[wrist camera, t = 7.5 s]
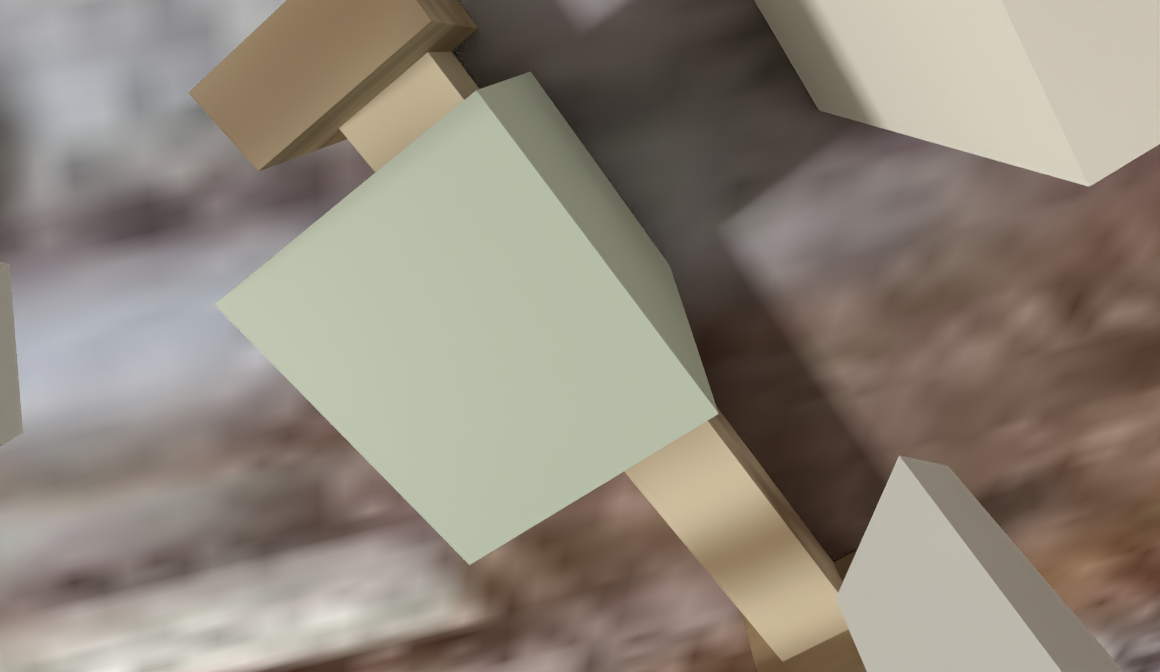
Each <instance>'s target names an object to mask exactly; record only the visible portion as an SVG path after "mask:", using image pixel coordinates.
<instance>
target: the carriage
mask: <svg viewBox="0 0 1160 672" xmlns="http://www.w3.org/2000/svg"><path fill="white" fill-rule="evenodd" d="M215 306H216V307H217V308H218V309H219V310H220V311H221V312H222V313H223V314H224V315H225V316H226V317H227V318H228V319H229V320H230V321H231V322H232V323H233V324H234V325H235V326H236V327H237V328H238V329H239V330H240V331H241V332H242V333H243V334H244V335H245V336H246V337H247V338H248V339H249V340H250V341H251V342H252V343H253V344H254V346H255V347H256V348H257V349H258V350H259V351H260V352H261V353H262V354H263V355H264V356H265V357H266V358H267V359H268V360H269V361H270V362H271V363H272V364H273V365H274V366H275V367H276V368H277V369H278V370H279V371H280V372H281V373H282V374H283V375H284V376H285V377H286V378H287V379H288V380H289V381H290V382H291V383H292V384H293V385H294V386H295V387H296V388H297V389H298V390H299V391H300V392H301V393H302V394H303V396H304V397H305V398H306V399H307V400H308V401H309V402H310V403H311V404H312V405H313V406H314V407H315V408H316V409H317V410H318V411H319V412H320V413H321V414H322V415H323V416H324V417H325V418H326V419H327V420H328V421H329V422H330V423H331V424H332V425H333V426H334V427H335V428H336V429H337V430H338V431H339V432H340V433H341V434H342V435H343V436H344V437H345V438H346V439H347V440H348V441H349V442H350V443H351V444H352V446H353V447H354V448H355V449H356V450H357V451H358V452H359V453H360V454H361V455H362V456H363V457H364V458H365V459H366V460H367V461H368V462H369V463H370V464H371V465H372V466H373V467H374V468H375V469H376V470H377V471H378V472H379V473H380V474H381V475H382V476H383V477H384V478H385V479H386V480H387V481H388V482H389V483H390V484H391V485H392V486H393V487H394V488H395V489H396V490H397V491H398V492H399V493H400V494H401V496H402V497H403V498H404V499H405V500H406V501H407V502H408V503H409V504H410V505H411V506H412V507H413V508H414V509H415V510H416V511H417V512H418V513H419V514H420V515H421V516H422V517H423V518H424V519H425V520H426V521H427V522H428V523H429V524H430V525H431V526H432V527H433V528H434V529H435V530H436V531H437V532H438V533H439V534H440V535H441V536H442V537H443V538H444V539H445V540H446V541H447V542H448V543H449V544H450V546H451V547H452V548H453V549H454V550H455V551H456V552H457V553H458V554H459V555H460V556H461V557H462V558H463V559H464V560H465V561H466V562H467V563H468V564H469V565H470V564H472V563H473V562H475V561H477V560H478V559H480V558H482V557H483V556H485V555H487V554H488V553H490V552H492V551H493V550H495V549H496V548H498V547H500V546H501V545H503V544H505V543H506V542H508V541H510V540H511V539H513V538H515V537H516V536H518V535H520V534H521V533H523V532H525V531H526V530H528V529H529V528H531V527H533V526H534V525H536V524H538V523H539V522H541V521H543V520H544V519H546V518H548V517H549V516H551V515H553V514H554V513H556V512H558V511H559V510H561V509H562V508H564V507H566V506H567V505H569V504H571V503H572V502H574V501H576V500H577V499H579V498H581V497H582V496H584V495H586V494H587V493H589V492H590V491H592V490H594V489H595V488H597V487H599V486H600V485H602V484H604V483H605V482H607V481H609V480H610V479H612V478H614V477H615V476H617V475H619V474H620V473H622V472H623V471H625V470H627V469H628V468H630V467H632V466H633V465H635V464H637V463H638V462H640V461H642V460H643V459H645V458H647V457H648V456H650V455H651V454H653V453H655V452H656V451H658V450H660V449H661V448H663V447H665V446H666V445H668V444H670V443H671V442H673V441H675V440H676V439H678V438H680V437H681V436H683V435H684V434H686V433H688V432H689V431H691V430H693V429H694V428H696V427H698V426H699V425H701V424H703V423H704V422H706V421H708V420H709V419H711V418H713V417H714V416H716V415H717V414H719V413H718V410H717V407H716V404H715V401H714V398H713V395H712V392H711V389H710V386H709V383H708V380H707V377H706V374H705V371H704V368H703V365H702V362H701V359H700V355H699V352H698V349H697V346H696V343H695V340H694V337H693V334H692V331H691V328H690V325H689V322H688V319H687V316H686V313H685V310H684V307H683V304H682V301H681V298H680V295H679V292H678V289H677V286H676V283H675V280H674V277H673V274H672V271H671V268H670V265H669V264H668V263H667V261H666V260H665V258H664V257H663V256H662V254H661V253H660V251H659V250H658V249H657V247H656V246H655V244H654V243H653V242H652V240H651V239H650V237H649V236H648V235H647V233H646V232H645V230H644V229H643V228H642V226H641V225H640V223H639V222H638V221H637V219H636V218H635V216H634V215H633V214H632V212H631V211H630V209H629V208H628V207H627V205H626V204H625V203H624V201H623V200H622V198H621V197H620V196H619V194H618V193H617V191H616V190H615V189H614V187H613V186H612V184H611V183H610V182H609V180H608V179H607V177H606V176H605V175H604V173H603V172H602V170H601V169H600V168H599V166H598V165H597V163H596V162H595V161H594V159H593V158H592V156H591V155H590V154H589V152H588V151H587V149H586V148H585V147H584V145H583V144H582V142H581V141H580V140H579V138H578V137H577V136H576V134H575V133H574V131H573V130H572V129H571V127H570V126H569V124H568V123H567V122H566V120H565V119H564V117H563V116H562V115H561V113H560V112H559V110H558V109H557V108H556V106H555V105H554V103H553V102H552V101H551V99H550V98H549V96H548V95H547V94H546V92H545V91H544V89H543V88H542V87H541V85H540V84H539V82H538V81H537V80H536V78H535V77H534V75H533V74H532V73H531V72H528V73H525V74H522V75H519V76H516V77H513V78H510V79H507V80H505V81H502V82H499V83H496V84H493V85H490V86H487V87H484V88H481V89H478V90H476V91H475V92H474V93H472V94H471V95H470V96H469V97H467V98H466V99H465V100H464V101H463V102H461V103H460V104H459V105H458V106H456V107H455V108H454V109H453V110H452V111H450V112H449V113H448V114H447V115H445V116H444V117H443V118H442V119H441V120H439V121H438V122H437V123H436V124H434V125H433V126H432V127H431V128H430V129H428V130H427V131H426V132H425V133H423V134H422V135H421V136H420V137H419V138H417V139H416V140H415V141H414V142H413V143H411V144H410V145H409V146H408V147H406V148H405V149H404V150H403V151H402V152H400V153H399V154H398V155H397V156H395V157H394V158H393V159H392V160H391V161H389V162H388V163H387V164H386V165H384V166H383V167H382V168H381V169H380V170H378V171H377V172H376V173H375V174H373V175H372V176H371V177H370V178H369V179H367V180H366V181H365V182H364V183H362V184H361V185H360V186H359V187H358V188H356V189H355V190H354V191H353V192H351V193H350V194H349V195H348V196H347V197H345V198H344V199H343V200H342V201H340V202H339V203H338V204H337V205H336V206H334V207H333V208H332V209H331V210H329V211H328V212H327V213H326V214H325V215H323V216H322V217H321V218H320V219H318V220H317V221H316V222H315V223H314V224H312V225H311V226H310V227H309V228H307V229H306V230H305V231H304V232H303V233H301V234H300V235H299V236H298V237H296V238H295V239H294V240H293V241H292V242H290V243H289V244H288V245H287V246H285V247H284V248H283V249H282V250H281V251H279V252H278V253H277V254H276V255H274V256H273V257H272V258H271V259H270V260H268V261H267V262H266V263H265V264H264V265H262V266H261V267H260V268H259V269H257V270H256V271H255V272H254V273H253V274H251V275H250V276H249V277H248V278H246V279H245V280H244V281H243V282H242V283H240V284H239V285H238V286H237V287H235V288H234V289H233V290H232V291H231V292H229V293H228V294H227V295H226V296H224V297H223V298H222V299H221V300H220V301H218V302H217V303H216V304H215Z"/></svg>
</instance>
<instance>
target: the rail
mask: <svg viewBox="0 0 1160 672" xmlns="http://www.w3.org/2000/svg"><path fill="white" fill-rule="evenodd" d="M478 29H479V28H478V27H477V25H476V24H475V23H474V21H473V20H472V19H471V17H470V16H469V14H468V13H467V12H466V10H465V9H464V8H463V6H462V5H461V3H460V2H459V1H458V0H287V1H286V2H285V3H284V4H282V5H281V6H280V7H279V8H278V9H277V10H276V11H275V12H274V13H273V14H272V15H271V16H270V17H269V18H268V19H267V20H265V21H264V22H263V23H262V24H261V25H260V26H259V27H258V28H257V29H256V30H255V31H254V32H253V33H252V34H251V35H250V36H248V37H247V38H246V39H245V40H244V41H243V42H242V43H241V44H240V45H239V46H238V47H237V48H236V49H235V50H234V51H232V52H231V53H230V54H229V55H228V56H227V57H226V58H225V59H224V60H223V61H222V62H221V63H220V64H219V65H218V66H217V67H215V68H214V69H213V70H212V71H211V72H210V73H209V74H208V75H207V76H206V77H205V78H204V79H203V80H202V81H201V82H199V83H198V84H197V85H196V86H195V87H194V88H193V89H192V90H191V91H190V92H189V94H190V95H191V96H192V97H193V99H194V100H195V101H196V102H197V103H198V104H199V105H200V106H201V107H202V109H203V110H204V111H205V112H206V113H207V114H208V115H209V116H210V118H211V119H212V120H213V121H214V122H215V123H216V124H217V125H218V127H219V128H220V129H221V130H222V131H223V132H224V133H225V134H226V136H227V137H228V138H229V139H230V140H231V141H232V142H233V143H234V145H235V146H236V147H237V148H238V149H239V150H240V151H241V152H242V153H243V155H244V156H245V157H246V158H247V159H248V160H249V161H250V162H251V164H252V165H253V166H254V167H255V168H256V169H257V170H258V171H260V170H263V169H266V168H269V167H271V166H274V165H277V164H280V163H282V162H285V161H288V160H291V159H293V158H296V157H299V156H302V155H304V154H307V153H310V152H313V151H316V150H318V149H321V148H324V147H327V146H329V145H332V144H335V143H338V142H340V141H343V140H346V139H348V140H349V141H350V142H351V144H352V145H353V146H354V147H355V148H356V150H357V151H358V152H359V153H360V154H361V156H362V157H363V158H364V159H365V160H366V162H367V163H368V164H369V165H370V166H371V168H372V169H373V170H374V171H375V172H377V171H378V170H380V169H381V168H382V167H383V166H384V165H386V164H387V163H388V162H389V161H391V160H392V159H393V158H394V157H395V156H397V155H398V154H399V153H400V152H402V151H403V150H404V149H405V148H406V147H408V146H409V145H410V144H411V143H413V142H414V141H415V140H416V139H417V138H419V137H420V136H421V135H422V134H423V133H425V132H426V131H427V130H428V129H430V128H431V127H432V126H433V125H434V124H436V123H437V122H438V121H439V120H441V119H442V118H443V117H444V116H445V115H447V114H448V113H449V112H450V111H452V110H453V109H454V108H455V107H456V106H458V105H459V104H460V103H461V102H463V101H464V100H465V99H466V98H467V97H469V96H470V95H471V94H472V93H474V92H475V91H476V90H478V89H479V88H478V86H477V85H476V84H475V82H474V81H473V80H472V78H471V77H470V76H469V74H468V73H467V72H466V70H465V69H464V68H463V66H462V65H461V64H460V62H459V61H458V60H457V58H456V57H455V56H454V54H453V53H452V51H453V50H454V49H455V48H456V47H458V46H459V45H460V44H461V43H462V42H464V41H465V40H466V39H467V38H468V37H469V36H471V35H472V34H473V33H474V32H475V31H477V30H478ZM716 407H717V406H716ZM717 410H718V413H719V414H717V415H716V416H714V417H713V418H711V419H709V420H708V421H706V422H704V423H703V424H701V425H699V426H698V427H696V428H694V429H693V430H691V431H689V432H688V433H686V434H684V435H683V436H681V437H680V438H678V439H676V440H675V441H673V442H671V443H670V444H668V445H666V446H665V447H663V448H661V449H660V450H658V451H656V452H655V453H653V454H651V455H650V456H648V457H647V458H645V459H643V460H642V461H640V462H638V463H637V464H635V465H633V466H632V467H630V468H628V469H627V470H625V471H624V472H625V473H626V474H627V475H628V476H629V478H630V479H631V480H632V481H633V482H634V484H635V485H636V486H637V487H638V489H639V490H640V491H641V492H642V493H643V495H644V496H645V497H646V498H647V499H648V501H649V502H650V503H651V504H652V505H653V507H654V508H655V509H656V510H657V511H658V513H659V514H660V515H661V516H662V517H663V519H664V520H665V521H666V522H667V523H668V525H669V526H670V527H671V528H672V529H673V531H674V532H675V533H676V534H677V535H678V537H679V538H680V539H681V540H682V541H683V543H684V544H685V545H686V546H687V547H688V549H689V550H690V551H691V552H692V553H693V555H694V556H695V557H696V558H697V559H698V561H699V562H700V563H701V564H702V565H703V567H704V568H705V569H706V570H707V571H708V573H709V574H710V575H711V576H712V577H713V579H714V580H715V581H716V582H717V583H718V585H719V586H720V587H721V588H722V589H723V591H724V592H725V593H726V594H727V595H728V597H729V598H730V599H731V600H732V601H733V603H734V604H735V605H736V606H737V607H738V609H739V610H740V611H741V612H742V615H743V619H744V623H745V627H746V631H747V635H748V639H749V642H750V646H751V650H752V654H753V658H754V662H755V666H756V670H757V672H867V671H866V668H865V666H864V664H863V661H862V659H861V657H860V654H859V652H858V650H857V647H856V645H855V643H854V640H853V638H852V636H851V633H850V631H849V629H848V626H847V624H846V622H845V619H844V617H843V615H842V613H841V610H840V608H839V606H838V603H837V601H836V597H837V594H838V592H839V590H840V588H841V585H842V583H843V581H844V579H845V576H846V574H847V572H848V570H849V567H850V565H851V563H852V561H853V558H854V556H855V554H856V552H857V550H856V551H854V552H852V553H850V554H848V555H846V556H844V557H843V558H841V559H839V560H837V561H835V562H833V561H832V560H831V559H830V557H829V556H828V555H827V553H826V552H825V551H824V549H823V548H822V546H821V545H820V544H819V542H818V541H817V540H816V538H815V537H814V536H813V534H812V533H811V532H810V530H809V529H808V528H807V526H806V525H805V524H804V522H803V521H802V520H801V518H800V517H799V516H798V514H797V513H796V512H795V510H794V509H793V508H792V506H791V505H790V504H789V502H788V501H787V500H786V498H785V497H784V496H783V494H782V493H781V492H780V490H779V489H778V488H777V486H776V485H775V484H774V482H773V481H772V480H771V478H770V477H769V476H768V474H767V473H766V472H765V470H764V469H763V468H762V466H761V465H760V464H759V462H758V461H757V460H756V458H755V457H754V456H753V454H752V453H751V452H750V450H749V449H748V447H747V446H746V445H745V443H744V442H743V441H742V439H741V438H740V437H739V435H738V434H737V433H736V431H735V430H734V429H733V427H732V426H731V425H730V423H729V422H728V421H727V419H726V418H725V417H724V415H723V414H722V413H721V411H720V410H719V409H718V407H717Z"/></svg>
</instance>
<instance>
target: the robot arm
mask: <svg viewBox="0 0 1160 672" xmlns="http://www.w3.org/2000/svg"><path fill="white" fill-rule="evenodd" d="M22 432H23V429H22V417H21V404H20V392H19V379H18V367H17V354H16V342H15V329H14V317H13V304H12V292H11V280H10V267H9V264H7V263H2V262H0V446H2V445H3V444H5V443H6V442H8V441H10V440H11V439H13V438H14V437H16V436H18V435H19V434H21V433H22ZM836 601H837V603H838V606H839V608H840V610H841V613H842V615H843V617H844V619H845V622H846V624H847V626H848V629H849V631H850V633H851V636H852V638H853V640H854V643H855V645H856V647H857V650H858V652H859V654H860V657H861V659H862V661H863V664H864V666H865V668H866V671H867V672H1124V671H1123V670H1122V669H1121V668H1120V667H1119V665H1118V664H1117V663H1116V662H1115V661H1114V660H1113V658H1112V657H1111V656H1110V655H1109V654H1108V653H1107V651H1106V650H1105V649H1104V648H1103V647H1102V646H1101V644H1100V643H1099V642H1098V641H1097V640H1096V639H1095V637H1094V636H1093V635H1092V634H1091V633H1090V632H1089V630H1088V629H1087V628H1086V627H1085V626H1084V624H1083V623H1082V622H1081V621H1080V620H1079V619H1078V617H1077V616H1076V615H1075V614H1074V613H1073V612H1072V610H1071V609H1070V608H1069V607H1068V606H1067V605H1066V603H1065V602H1064V601H1063V600H1062V599H1061V598H1060V596H1059V595H1058V594H1057V593H1056V592H1055V591H1054V589H1053V588H1052V587H1051V586H1050V585H1049V583H1048V582H1047V581H1046V580H1045V579H1044V578H1043V576H1042V575H1041V574H1040V573H1039V572H1038V571H1037V569H1036V568H1035V567H1034V566H1033V565H1032V564H1031V562H1030V561H1029V560H1028V559H1027V558H1026V557H1025V555H1024V554H1023V553H1022V552H1021V551H1020V550H1019V548H1018V547H1017V546H1016V545H1015V544H1014V542H1013V541H1012V540H1011V539H1010V538H1009V537H1008V535H1007V534H1006V533H1005V532H1004V531H1003V530H1002V528H1001V527H1000V526H999V525H998V524H997V523H996V521H995V520H994V519H993V518H992V517H991V516H990V514H989V513H988V512H987V511H986V510H985V509H984V507H983V506H982V505H981V504H980V503H979V502H978V500H977V499H976V498H975V497H974V496H973V494H972V493H971V492H970V491H969V490H968V489H967V487H966V486H965V485H964V484H963V483H962V482H961V480H960V479H959V478H958V477H957V476H956V475H955V473H954V472H953V471H952V470H951V469H950V468H949V466H946V465H941V464H937V463H932V462H927V461H923V460H918V459H913V458H909V457H904V456H899V457H898V459H897V462H896V464H895V466H894V468H893V471H892V473H891V475H890V477H889V480H888V482H887V484H886V486H885V489H884V491H883V493H882V495H881V498H880V500H879V502H878V504H877V507H876V509H875V511H874V513H873V516H872V518H871V520H870V522H869V525H868V527H867V529H866V531H865V534H864V536H863V538H862V540H861V543H860V545H859V547H858V549H857V552H856V554H855V556H854V558H853V561H852V563H851V565H850V567H849V570H848V572H847V574H846V576H845V579H844V581H843V583H842V585H841V588H840V590H839V592H838V594H837V597H836Z"/></svg>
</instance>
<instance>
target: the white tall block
mask: <svg viewBox="0 0 1160 672" xmlns="http://www.w3.org/2000/svg"><path fill="white" fill-rule="evenodd" d="M754 1H755V3H756V4H757V6H758V8H759V9H760V11H761V13H762V15H763V16H764V18H765V20H766V21H767V23H768V25H769V26H770V28H771V30H772V32H773V33H774V35H775V37H776V38H777V40H778V42H779V43H780V45H781V47H782V49H783V50H784V52H785V54H786V55H787V57H788V59H789V60H790V62H791V64H792V66H793V67H794V69H795V71H796V72H797V74H798V76H799V77H800V79H801V81H802V83H803V84H804V86H805V88H806V89H807V91H808V93H809V94H810V96H811V98H812V100H813V101H814V103H815V105H816V106H817V108H818V110H819V111H823V112H826V113H830V114H833V115H837V116H840V117H844V118H848V119H851V120H855V121H858V122H862V123H865V124H869V125H872V126H876V127H879V128H883V129H887V130H890V131H894V132H897V133H901V134H904V135H908V136H911V137H915V138H919V139H922V140H926V141H929V142H933V143H936V144H940V145H943V146H947V147H950V148H954V149H958V150H961V151H965V152H968V153H972V154H975V155H979V156H982V157H986V158H990V159H993V160H997V161H1000V162H1004V163H1007V164H1011V165H1014V166H1018V167H1021V168H1025V169H1029V170H1032V171H1036V172H1039V173H1043V174H1046V175H1050V176H1053V177H1057V178H1061V179H1064V180H1068V181H1071V182H1075V183H1078V184H1082V185H1085V186H1091V185H1093V184H1094V183H1096V182H1098V181H1099V180H1101V179H1103V178H1104V177H1106V176H1108V175H1109V174H1111V173H1112V172H1114V171H1116V170H1117V169H1119V168H1121V167H1122V166H1124V165H1126V164H1127V163H1129V162H1131V161H1132V160H1134V159H1136V158H1137V157H1139V156H1140V155H1142V154H1144V153H1145V152H1147V151H1149V150H1150V149H1152V148H1154V147H1155V146H1157V145H1159V144H1160V0H754Z"/></svg>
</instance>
